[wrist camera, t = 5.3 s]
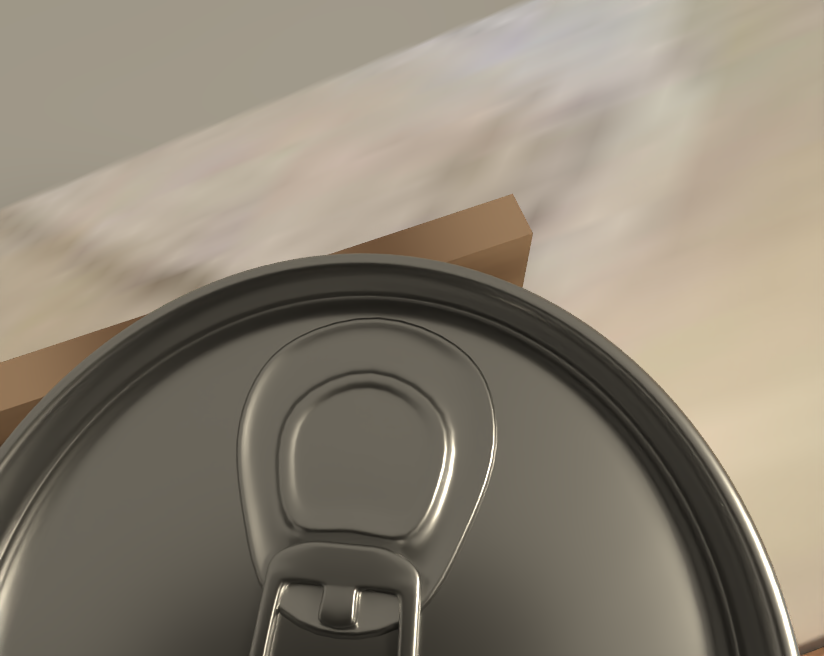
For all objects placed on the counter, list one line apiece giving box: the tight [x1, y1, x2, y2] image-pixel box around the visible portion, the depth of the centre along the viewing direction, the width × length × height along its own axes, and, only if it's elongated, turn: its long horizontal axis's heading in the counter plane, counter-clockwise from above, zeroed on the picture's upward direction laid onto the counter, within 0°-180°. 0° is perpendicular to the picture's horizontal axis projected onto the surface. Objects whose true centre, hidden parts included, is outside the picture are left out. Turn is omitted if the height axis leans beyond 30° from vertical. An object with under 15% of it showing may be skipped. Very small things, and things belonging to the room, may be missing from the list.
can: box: [0, 253, 800, 656], centre depth 9 cm, size 6×6×12 cm
